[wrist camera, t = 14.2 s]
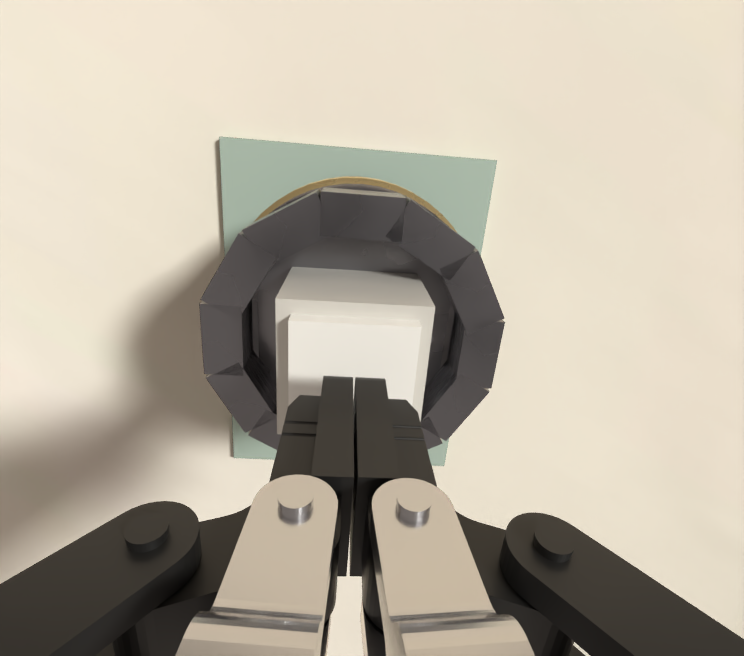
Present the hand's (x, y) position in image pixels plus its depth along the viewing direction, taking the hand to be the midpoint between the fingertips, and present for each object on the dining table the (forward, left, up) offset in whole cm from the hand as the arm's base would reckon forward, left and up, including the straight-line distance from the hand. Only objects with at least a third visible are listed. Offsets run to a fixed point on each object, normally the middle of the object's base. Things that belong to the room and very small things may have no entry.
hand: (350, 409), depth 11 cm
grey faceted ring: (0, 0, -13) cm, 13 cm away
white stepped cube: (0, 0, -5) cm, 5 cm away
